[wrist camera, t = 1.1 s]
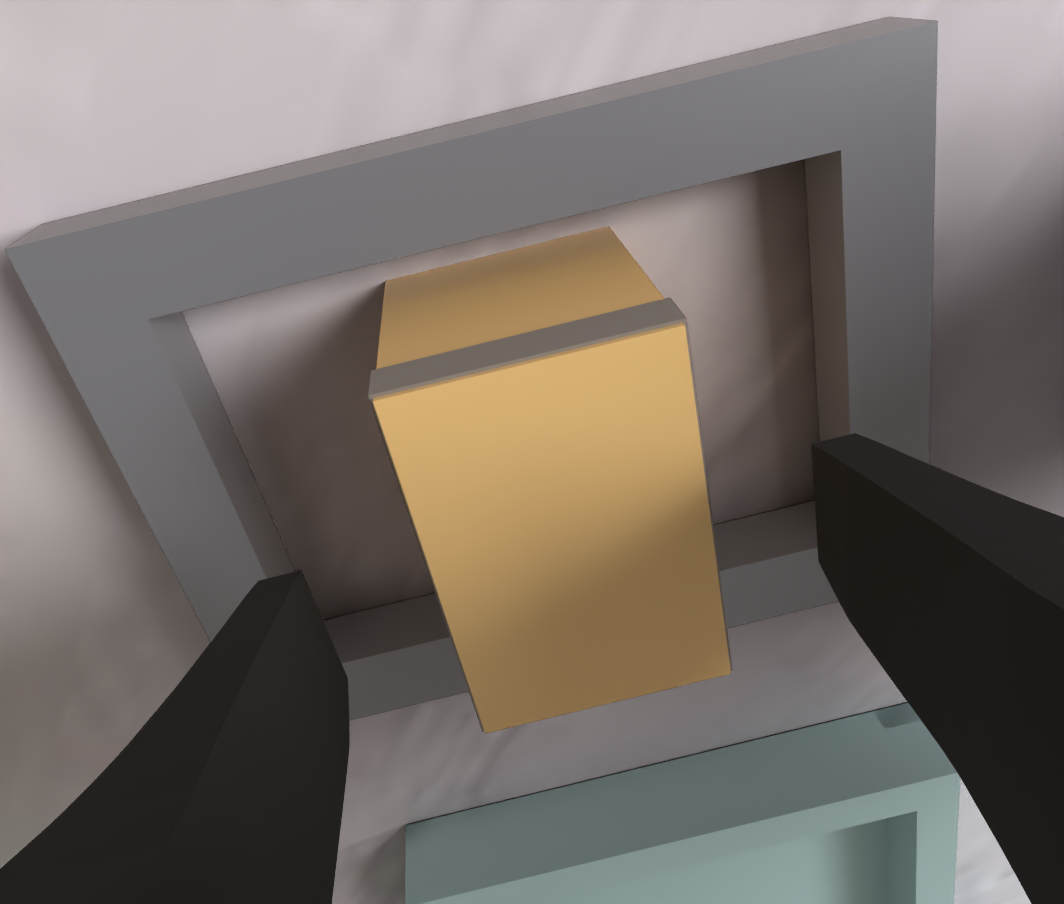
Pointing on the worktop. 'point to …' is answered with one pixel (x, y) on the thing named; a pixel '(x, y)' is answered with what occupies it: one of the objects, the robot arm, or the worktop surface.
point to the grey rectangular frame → (487, 209)
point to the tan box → (554, 475)
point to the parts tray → (718, 828)
